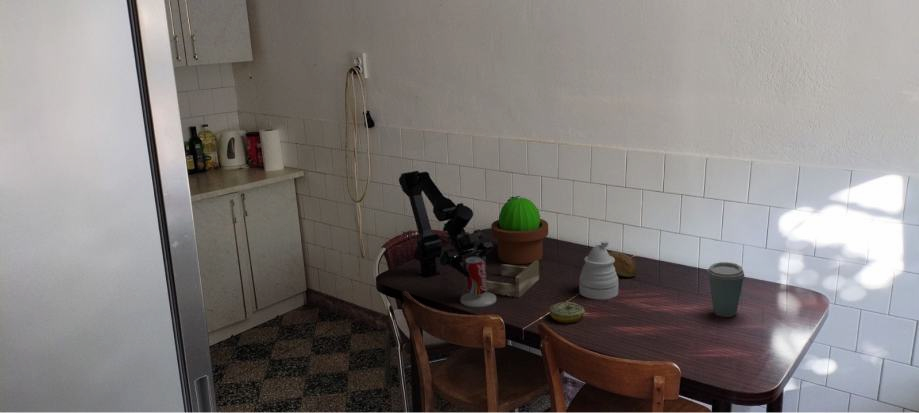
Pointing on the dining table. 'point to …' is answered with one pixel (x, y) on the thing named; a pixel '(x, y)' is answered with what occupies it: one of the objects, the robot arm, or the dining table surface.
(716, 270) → the disposable coffee cup
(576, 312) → the decorated donut
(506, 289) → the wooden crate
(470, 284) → the soda can
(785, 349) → the dining table surface
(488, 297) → the saucer
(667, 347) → the dining table surface
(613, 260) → the honey pot
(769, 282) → the dining table surface
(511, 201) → the potted cactus
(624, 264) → the bread roll
